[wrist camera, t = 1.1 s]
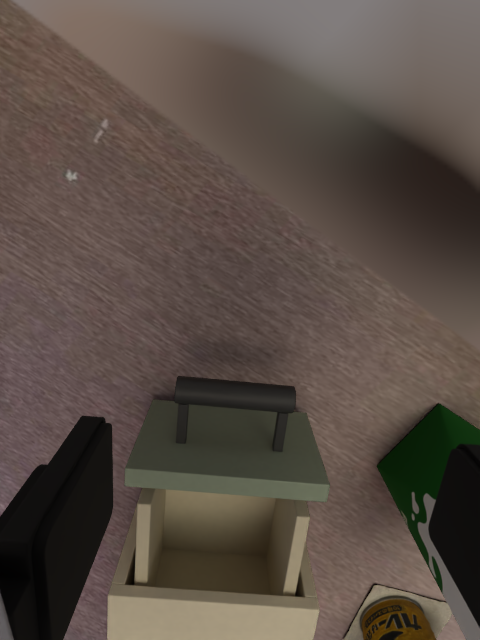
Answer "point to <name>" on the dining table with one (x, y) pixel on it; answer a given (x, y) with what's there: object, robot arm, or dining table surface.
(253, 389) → the drawer
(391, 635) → the condiment
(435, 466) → the milk carton
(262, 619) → the cabinet
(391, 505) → the dining table surface
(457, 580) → the robot arm
